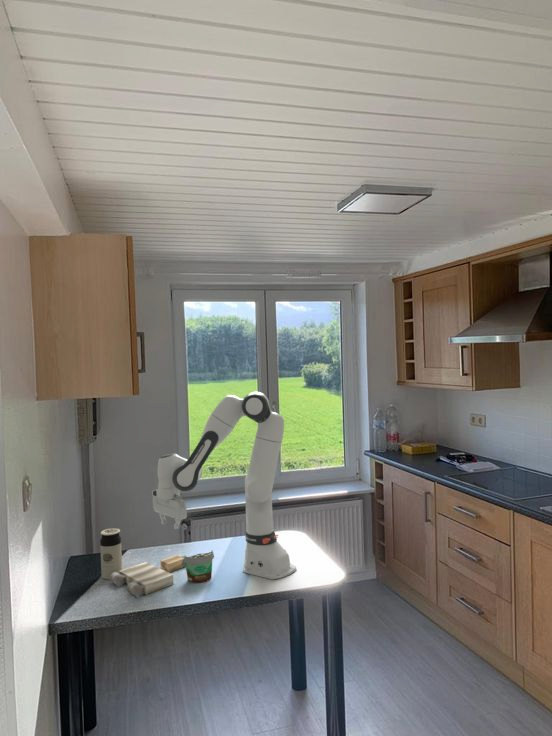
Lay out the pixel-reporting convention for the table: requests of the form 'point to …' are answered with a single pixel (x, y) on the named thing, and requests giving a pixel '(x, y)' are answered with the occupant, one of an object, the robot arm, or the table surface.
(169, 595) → the table surface
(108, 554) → the travel mug
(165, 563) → the tan rectangular block
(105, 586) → the table surface
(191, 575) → the food container
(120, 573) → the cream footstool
